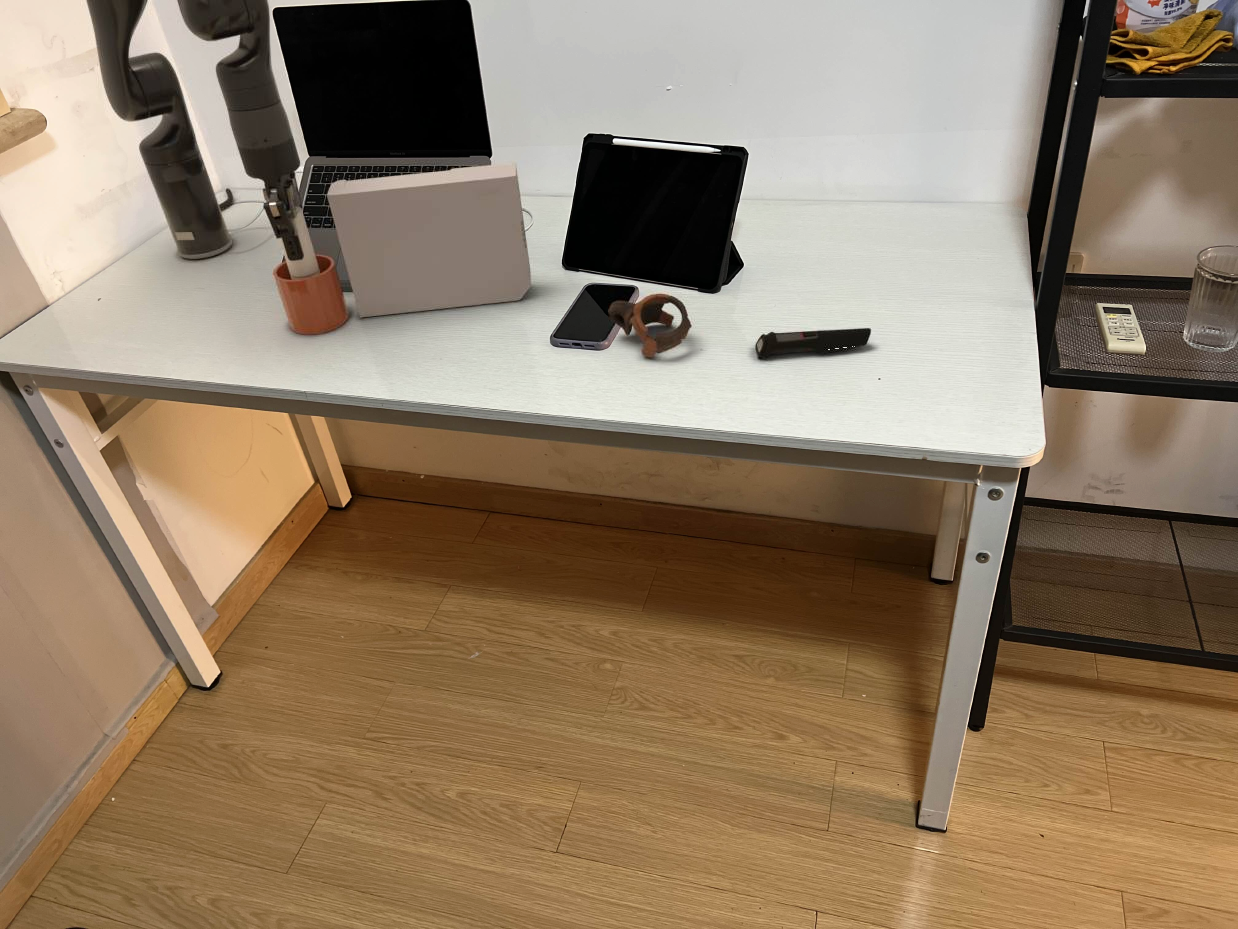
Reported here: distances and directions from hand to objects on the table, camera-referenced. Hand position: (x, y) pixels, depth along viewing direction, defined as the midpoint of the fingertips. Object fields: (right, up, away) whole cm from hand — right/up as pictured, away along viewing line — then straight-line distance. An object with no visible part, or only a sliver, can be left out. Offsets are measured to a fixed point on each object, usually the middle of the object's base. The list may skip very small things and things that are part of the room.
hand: (298, 251), depth 137 cm
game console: (+20, -6, +10) cm, 23 cm away
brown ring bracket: (+52, -14, -5) cm, 54 cm away
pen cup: (+1, -9, +7) cm, 12 cm away
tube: (+1, -7, +6) cm, 9 cm away
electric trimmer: (+74, -16, -9) cm, 76 cm away
